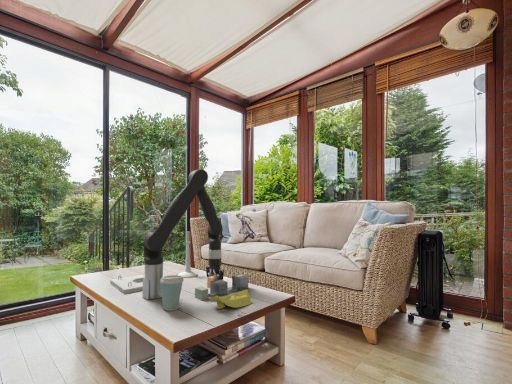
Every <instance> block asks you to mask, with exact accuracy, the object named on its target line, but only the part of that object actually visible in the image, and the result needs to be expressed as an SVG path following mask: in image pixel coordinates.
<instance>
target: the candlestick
mask: <svg viewBox="0 0 512 384" xmlns="http://www.w3.org/2000/svg"><path fill="white" fill-rule="evenodd" d="M190 235H191V234H190V231H186V241H185V244H186V251H185V252H186V253H185V268H184V271H181V272H180V273H179V272H178V274H177V275H178V276H182V278H183V279H191V278H195V277H197V276H198V273H197V272H196V271H193V270H191V250H190V249H191V248H190V244H191V242H192V241H191V240H190V239H191V237H190Z"/></svg>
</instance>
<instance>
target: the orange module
mask: <svg viewBox="0 0 512 384" xmlns="http://www.w3.org/2000/svg"><path fill="white" fill-rule="evenodd" d="M218 279H219V277H218ZM215 280H216V277H215V275H214V276H210V277H207V276H206V283H207V285H206V288H207V289H210V282H211V281H215Z"/></svg>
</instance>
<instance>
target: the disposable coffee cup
mask: <svg viewBox="0 0 512 384" xmlns="http://www.w3.org/2000/svg"><path fill="white" fill-rule="evenodd" d="M183 282H184V278H182V276H178V274H175V275H174V274H172V275H166V276H164V277H162V278H161V280H160V283H161V292H162V297H161V300H162V301H161V302H162V307H163V310H164V311H169V312H170V311H171V312H172V311H176V310H178V308H179V303H180V298H181V292H182V287H183Z"/></svg>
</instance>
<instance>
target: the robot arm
mask: <svg viewBox="0 0 512 384" xmlns="http://www.w3.org/2000/svg"><path fill="white" fill-rule="evenodd" d="M208 180H209V175H208V172H207V171H206V170H204V169H203V168H202V169H201V168H199V169H194V170H192V171H191V172H190V173H189V175H188V181H189V182H188V183H187V185H186V186H185V187H184V188H183V189H182V190H181V191H180V192H179V193H178V194H177V195H176V196H175V197H174V198H173V200H172V201H171V202H170V204H169V205H168V206H167V208H166V210H165V212H164V215H163V218H162V220H161V221H160V224H159V225H158V227H156V229H155V230H154V231H152V232H149V233H147V234H146V235H145V237H144V238H143V239H144V240H143V259H144V274H143V275H144V278H143V282H142V283H143V290H142V298H144V299H146V300H149V301H150V300H154V299H160V298H162V292H161V283H160V280H161V278H162V277H163V275H164V257H163V250H162V249H163V247H164V246H165V245H166V243H167V241H168V239H169V237H170V235H171V234H172V232H173V231H174V229H175V228H176V226H177V225H178V224H179V222H180V221H181V219H182V218H183V217H184V216H185V214H186V212H187V210H188V209H189V208H190V206H191V204H192V203H193V201H194V199H195V197H197V198H198V202H199V204H200V207H201V210H202V213H203V216H204V218H205V220H206V221H207V223H208V225H207V236H208V238H207V239H208V257H207V258H208V261H207V262H208V263H207V265H208V266H205V272H206V278H207V277H210V276H214V275H215V277H216V280H224V275H225V270H224V269H221V265H222V241H221V239H220V235H221V234H222V233H223V231H224V230H223V229H224V228H223V224H222V222H221V221H220V218H219V217H218V215H217V211H216V209H215V205H214V203H213V201H212V199H211V198H210V196H209V194H208V193H207V190H206V187H205V185H206V183H207V182H208ZM218 277H219V279H218Z"/></svg>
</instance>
